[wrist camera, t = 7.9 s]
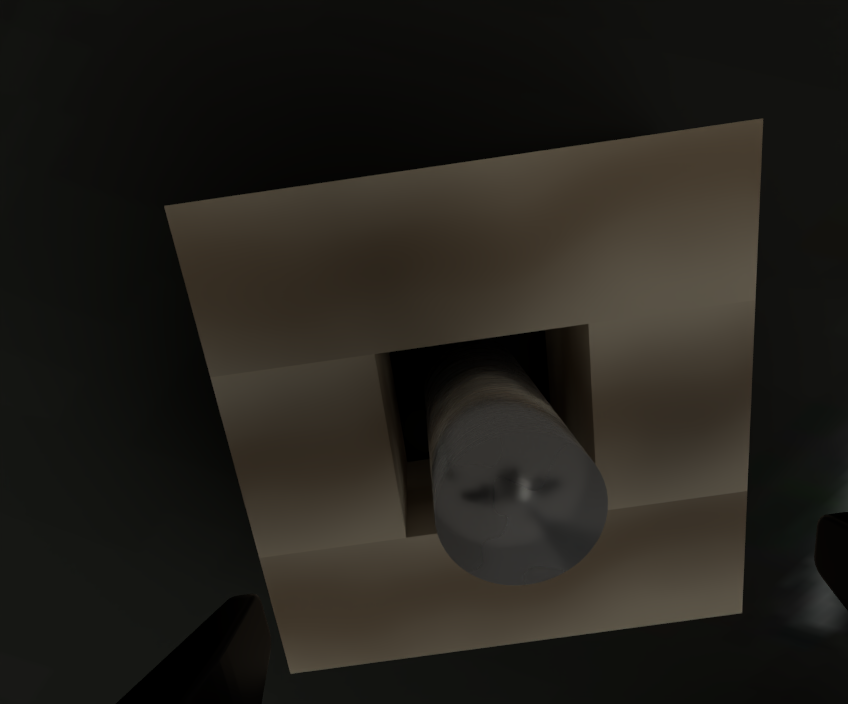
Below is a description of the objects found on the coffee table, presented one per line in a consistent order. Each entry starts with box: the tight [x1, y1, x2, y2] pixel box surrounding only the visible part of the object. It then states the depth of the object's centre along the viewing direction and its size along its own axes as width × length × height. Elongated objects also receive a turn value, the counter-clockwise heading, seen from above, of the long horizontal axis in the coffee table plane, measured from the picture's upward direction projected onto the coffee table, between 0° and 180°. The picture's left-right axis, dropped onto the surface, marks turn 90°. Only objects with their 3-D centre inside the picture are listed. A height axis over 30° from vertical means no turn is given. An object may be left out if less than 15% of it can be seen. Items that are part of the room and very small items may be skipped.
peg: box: [423, 338, 608, 585], centre depth 14 cm, size 4×4×8 cm
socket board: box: [164, 119, 763, 674], centre depth 15 cm, size 14×14×4 cm
